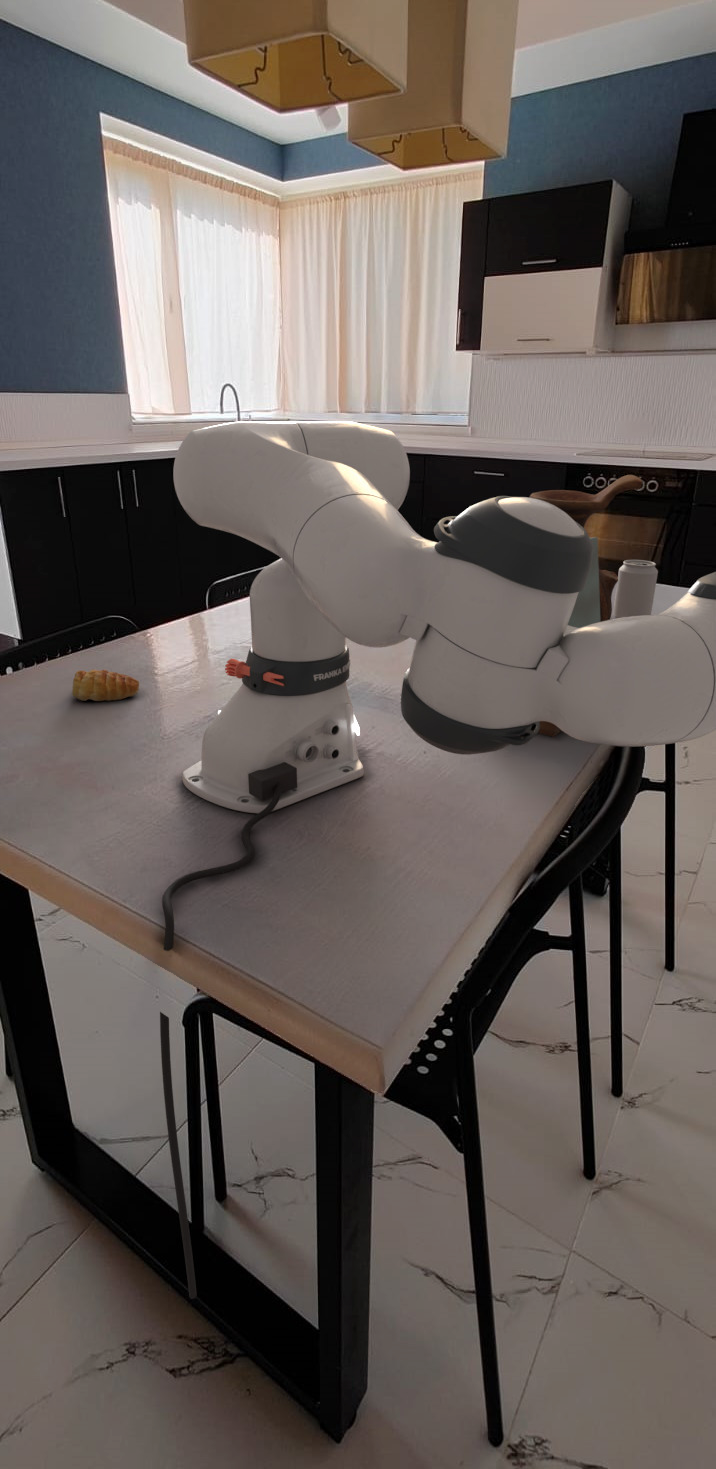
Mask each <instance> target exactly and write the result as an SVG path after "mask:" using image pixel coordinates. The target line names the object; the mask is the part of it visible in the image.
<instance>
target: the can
mask: <svg viewBox="0 0 716 1469" xmlns="http://www.w3.org/2000/svg"><path fill="white" fill-rule="evenodd" d="M622 563H623V564H622V565H621V566H620V567H619V569H618V575H617V577H618V582H617V583H616V588H615V595H614V603H613V607H612V616H613V617H614V619H616V618H622V617H631V616H642V615H652V611H653V604H654V598H655V593H656V586H657V580H658V573H659V570H658V569H657V568H656V566H657V563H655V562H654V561H652V560H651V561H650V560H644V559H626V560H624V561H623V562H622Z"/></svg>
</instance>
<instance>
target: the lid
mask: <svg viewBox="0 0 716 1469" xmlns="http://www.w3.org/2000/svg"><path fill="white" fill-rule="evenodd" d="M589 538H590V539H591V541H592V543H593V557H592V563H591V567H590V572H589V576H588V579H587V582H586V586H585V588H584V589H583V590H582V591H580V592H579V593H578V596H577V599H576V602H575V605H574V608H573V611H572V614H571V617H570V619H569V622H568V625H569V626H572V627H576V628H581V627H584V626H587V625H591V624H594V623H598V622H600V594H599V569H600V567H599V566H600V565H599V544H598V542H599V541H598V538H599V537H598V536H592V537H589Z"/></svg>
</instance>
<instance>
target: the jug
mask: <svg viewBox="0 0 716 1469" xmlns="http://www.w3.org/2000/svg"><path fill="white" fill-rule="evenodd" d="M642 485H643V480H642V479H641V478H640V477H638V476H636V475H633V474H627V475H624V476H621V477H619V478H618V479H615V481H613V482H612V483H611V484H609V485H608V486H606V487H605V488H604V489H602V490H601V491H599V492H597V493H596V494H591V493H587V492H583V491H578V490H569V489H568V490H567V489H549V490H542V491H536V492H532V493H531V494H530V495H529V498H534V499H539V500H542V501H545V502H548V503H550V504H552V505H554V506H556V507H558V508H559V509H561V510H562V511H564V512H565V513H566V514H567V515H569V516H570V517H571V518H572V519H573V520H574V521H576V522H577V523H578V524H580V525H581V526H582V527H583V528H584V529H585V525H586V522H587V521H588V519H589V518H590V517H591V516H592V515H594V514H595V513H597V512H600V511H602V510H605V509H606V508H607V507H608V506H609V504H610V503H611V502H612V501H613V499H614V498H615V497H616V495H618V494H620V493H623V492H626V491H630V490H633V491H638V490H640V489H641V488H642ZM617 582H618V575H617V574H616V572H614V571H609V570H607V569H601V568H599V594H600V622H602V621H607V620H611V619H612V614H613V603H612V595H613V591H614V589H615V586H617Z"/></svg>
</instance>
